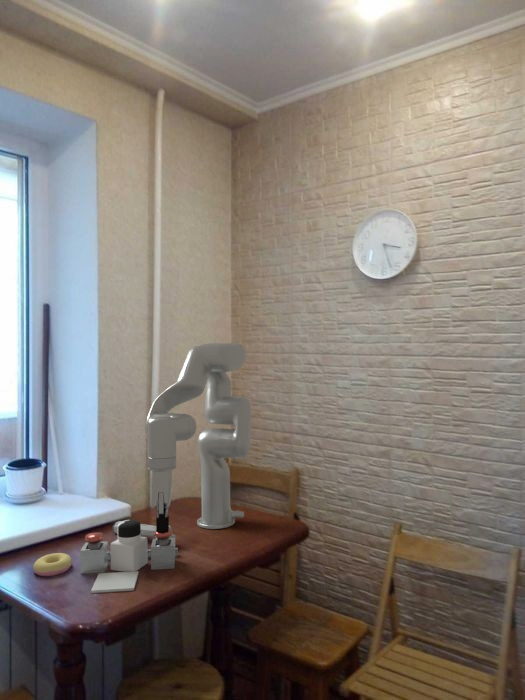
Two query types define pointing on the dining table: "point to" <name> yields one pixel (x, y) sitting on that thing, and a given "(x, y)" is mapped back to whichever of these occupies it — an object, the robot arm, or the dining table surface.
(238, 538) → the dining table surface
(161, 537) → the plunger
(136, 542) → the medicine bottle
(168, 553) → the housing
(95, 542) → the plunger
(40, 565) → the donut
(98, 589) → the mat
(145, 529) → the grey piece
